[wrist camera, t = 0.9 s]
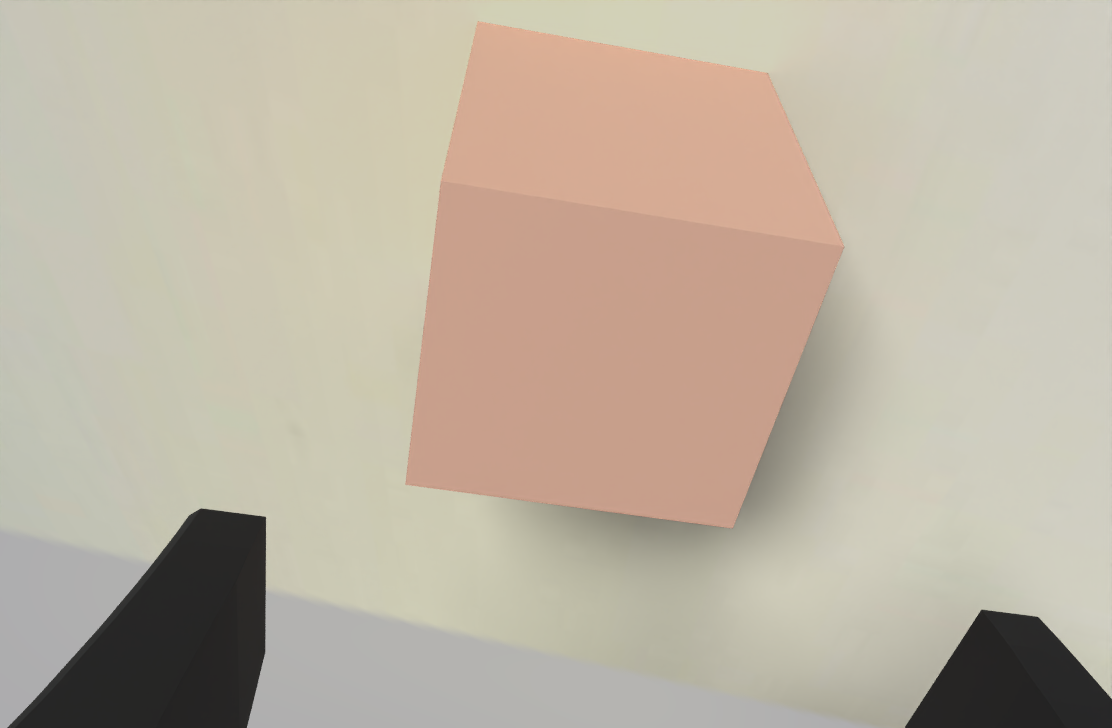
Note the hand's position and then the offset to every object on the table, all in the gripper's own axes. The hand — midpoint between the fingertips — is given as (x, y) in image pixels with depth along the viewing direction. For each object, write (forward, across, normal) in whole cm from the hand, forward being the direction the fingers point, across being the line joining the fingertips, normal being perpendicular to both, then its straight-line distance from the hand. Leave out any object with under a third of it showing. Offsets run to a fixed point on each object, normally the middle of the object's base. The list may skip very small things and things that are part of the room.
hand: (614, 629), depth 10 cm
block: (+10, 0, 0) cm, 10 cm away
